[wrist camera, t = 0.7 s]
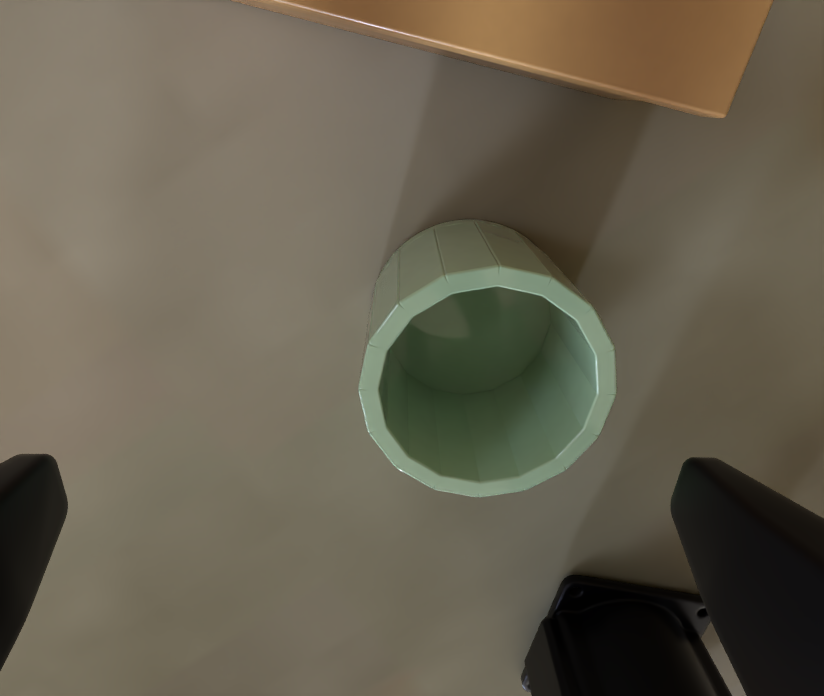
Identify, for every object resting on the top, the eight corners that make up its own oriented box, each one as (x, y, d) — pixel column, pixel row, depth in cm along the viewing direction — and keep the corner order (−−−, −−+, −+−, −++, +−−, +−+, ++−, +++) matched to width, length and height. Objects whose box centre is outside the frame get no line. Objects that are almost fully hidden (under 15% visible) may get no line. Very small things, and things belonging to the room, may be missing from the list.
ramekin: (586, 243, 18) (657, 300, 13) (527, 411, 21) (567, 514, 16) (393, 198, 18) (390, 240, 13) (355, 378, 20) (339, 473, 15)
